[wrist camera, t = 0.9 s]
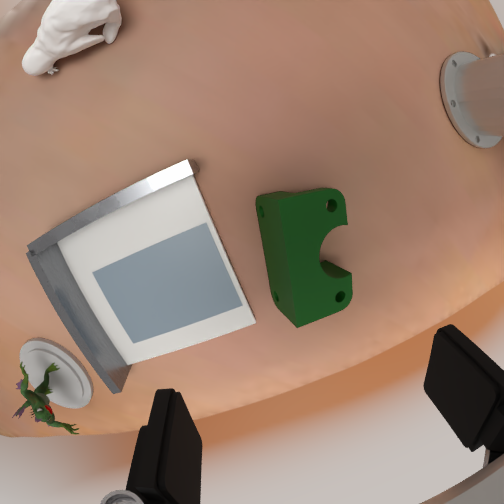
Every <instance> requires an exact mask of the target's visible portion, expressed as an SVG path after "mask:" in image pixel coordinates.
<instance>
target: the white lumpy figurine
mask: <svg viewBox="0 0 504 504" xmlns="http://www.w3.org/2000/svg"><path fill="white" fill-rule="evenodd" d="M121 20H122V17H121V13H120V6H119V5H118V4H117V1H116V0H52V2H51V3H50V5H49V6H48V8H47V10H46V12H45V13H44V15H43V17H42V20H41V26H40V27H39V29H38V32H37V38H36V39H35V42H34V43H33V44H32V45H31V47H30V48H29V49H28V50H27V52H26V54H25V55H24V57H23V60H22V67H23V69H24V71H25V72H26V73H27V74H29V75H33V76H38V75H41V74H43V73H45V72H46V71H48V73H49V72H50V74H52V73H53V72H52V71H54V72H55V71H57V69H53V65H54V63H55V62H56V61H57V60H58V59H59V58H64V57H67V56H69V55H72V54H75V53H77V52H80V51H81V50H84V49H86V48H88V47H90V46H93V45H95V44H97V43H100V42H102V41H104V39H105V41H106V42H107V43H108V44H110V43H112V42H113V41H114V40H115V38H116V35H117V33H118V30H119V27H120V26H121ZM104 23H106V24H105V26H104V28H103V35H88V33H89V32H90V30H91V29H93V28H96V27H97V26H99V25H102V24H104ZM55 68H56V67H55ZM51 72H52V73H51Z"/></svg>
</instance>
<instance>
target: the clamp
mask: <svg viewBox="0 0 504 504" xmlns="http://www.w3.org/2000/svg"><path fill="white" fill-rule="evenodd" d="M327 201H328V207H327V209H326V203H327ZM256 210H257V216H258V221H259V227H260V232H261V238H262V244H263V249H264V255H265V260H266V266H267V272H268V277H269V283H270V289H271V294H272V298H273V300H274V303H275V305H276V306H277V308H278V309H279V310H280V311H281V312H282V313H283V314H284V315H285V316H286V317H287V318H288V319H289V320H290V321H291V322H292V323H293V324H294V325H295V326H296V327H297V328H298V327H301V326H304V325H306V324H309V323H311V322H314V321H316V320H319V319H322V318H324V317H327V316H329V315H331V314H334V313H336V312H339V311H341V310H343V309H345V308H346V307H347V306H348V305H349V303H350V301H351V299H352V294H353V291H352V273H350V272H348V271H346V270H344V269H342V268H340V267H338V266H336V265H334V264H332V263H330V262H328V261H326V260H325V261H323V262H321V263H320V260H319V252H320V247H321V244H322V242H323V240H324V238H325V237H326V235H327V234H328V233H329V232H330V231H331V230H332V229H334V228H335V227H337V226H340V225H348V222H347V213H346V204H345V199H344V196H343V195H342V193H341V192H340V191H338V190H336V189H332V188H318V189H313V190H308V191H303V192H298V193H289V192H282V191H279V192H275V193H270V194H265V195H261V196H257V198H256Z"/></svg>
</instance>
